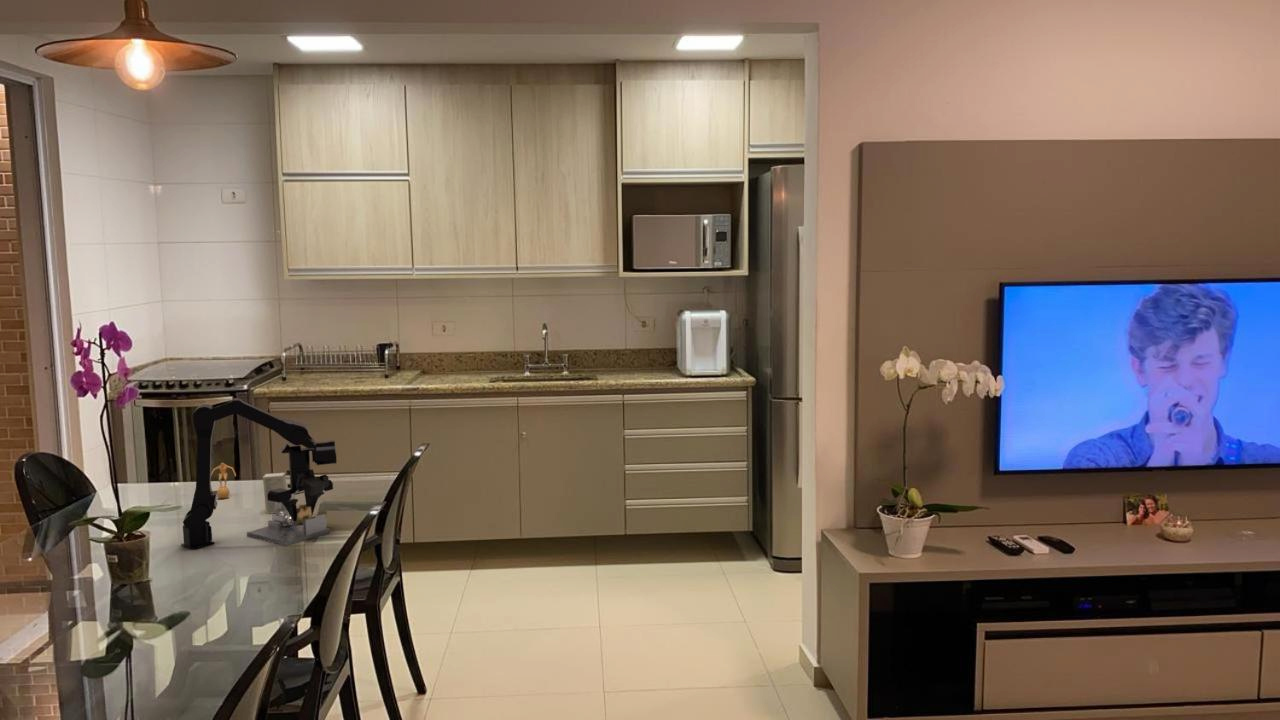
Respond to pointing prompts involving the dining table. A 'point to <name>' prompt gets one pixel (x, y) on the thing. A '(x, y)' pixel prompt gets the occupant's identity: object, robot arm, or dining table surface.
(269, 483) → the skincare box
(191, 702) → the dining table surface
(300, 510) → the cylinder
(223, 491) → the figurine
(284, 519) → the ram
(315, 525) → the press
